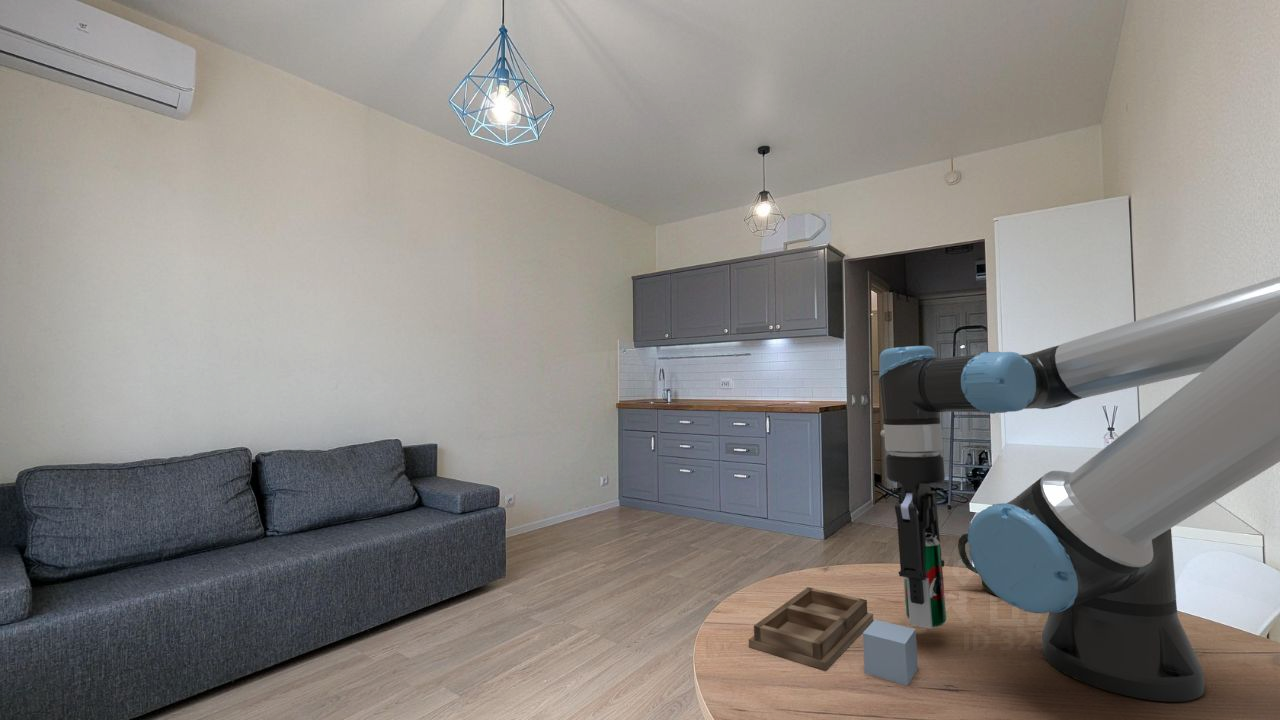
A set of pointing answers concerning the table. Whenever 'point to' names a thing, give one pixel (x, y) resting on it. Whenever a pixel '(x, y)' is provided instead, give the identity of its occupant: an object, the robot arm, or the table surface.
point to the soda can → (933, 580)
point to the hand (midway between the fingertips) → (926, 618)
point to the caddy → (812, 627)
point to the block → (890, 652)
